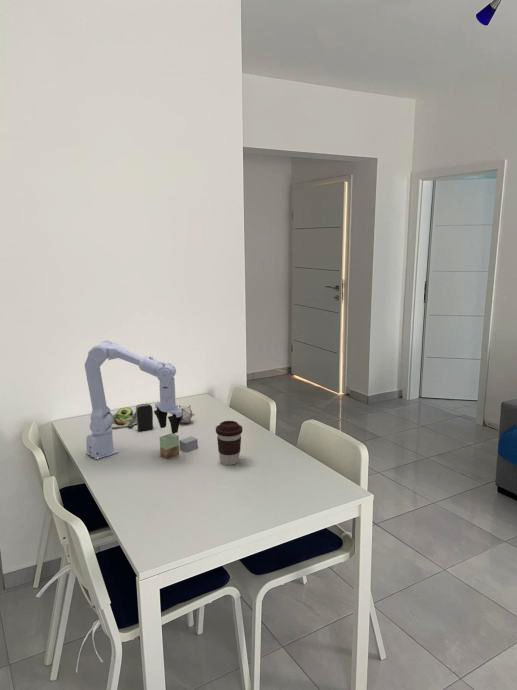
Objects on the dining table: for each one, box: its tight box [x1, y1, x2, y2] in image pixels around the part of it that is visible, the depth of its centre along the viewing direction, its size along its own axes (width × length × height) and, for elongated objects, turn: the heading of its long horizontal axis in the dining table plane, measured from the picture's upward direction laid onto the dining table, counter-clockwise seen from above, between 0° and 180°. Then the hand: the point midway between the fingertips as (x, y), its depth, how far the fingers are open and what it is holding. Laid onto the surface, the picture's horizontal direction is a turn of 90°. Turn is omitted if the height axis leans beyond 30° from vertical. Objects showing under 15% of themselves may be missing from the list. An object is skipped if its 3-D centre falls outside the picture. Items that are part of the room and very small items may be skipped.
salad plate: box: [111, 406, 137, 429], centre depth 238 cm, size 19×18×5 cm
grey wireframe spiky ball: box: [178, 404, 195, 425], centre depth 237 cm, size 9×8×10 cm
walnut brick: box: [159, 446, 180, 460], centre depth 203 cm, size 6×4×4 cm, turn 135°
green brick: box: [159, 432, 180, 450], centre depth 202 cm, size 6×4×4 cm, turn 134°
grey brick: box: [179, 435, 199, 453], centre depth 210 cm, size 6×4×4 cm, turn 135°
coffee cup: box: [215, 420, 243, 466], centre depth 197 cm, size 10×10×15 cm
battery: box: [135, 403, 154, 432], centre depth 229 cm, size 7×4×11 cm, turn 115°
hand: (168, 430), depth 201 cm, fingers open, 7 cm apart
